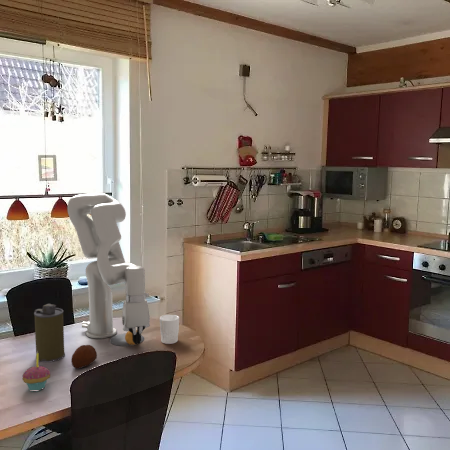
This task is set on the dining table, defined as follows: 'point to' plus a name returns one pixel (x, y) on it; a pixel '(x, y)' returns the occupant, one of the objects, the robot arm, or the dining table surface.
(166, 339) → the white cup
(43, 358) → the canister
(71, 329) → the dining table surface
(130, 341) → the ball
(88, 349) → the potato
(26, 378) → the cupcake
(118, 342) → the disc
